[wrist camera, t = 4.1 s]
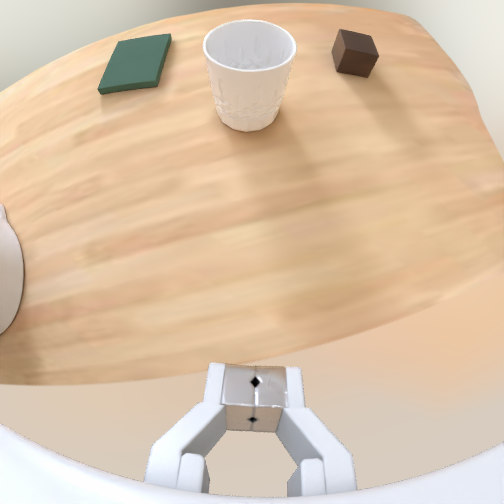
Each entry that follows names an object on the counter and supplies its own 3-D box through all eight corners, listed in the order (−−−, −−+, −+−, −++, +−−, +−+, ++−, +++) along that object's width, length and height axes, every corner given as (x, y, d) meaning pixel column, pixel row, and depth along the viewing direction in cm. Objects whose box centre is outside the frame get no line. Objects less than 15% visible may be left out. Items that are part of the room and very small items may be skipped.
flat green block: (100, 94, 30) (97, 89, 29) (120, 46, 31) (118, 41, 30) (157, 86, 30) (155, 80, 29) (171, 39, 32) (170, 33, 31)
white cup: (295, 123, 30) (314, 59, 20) (229, 147, 29) (224, 83, 19) (262, 76, 31) (269, 13, 21) (201, 97, 30) (190, 32, 20)
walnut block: (336, 71, 31) (345, 48, 27) (331, 51, 32) (339, 28, 28) (367, 77, 31) (379, 56, 27) (361, 56, 32) (371, 35, 28)
